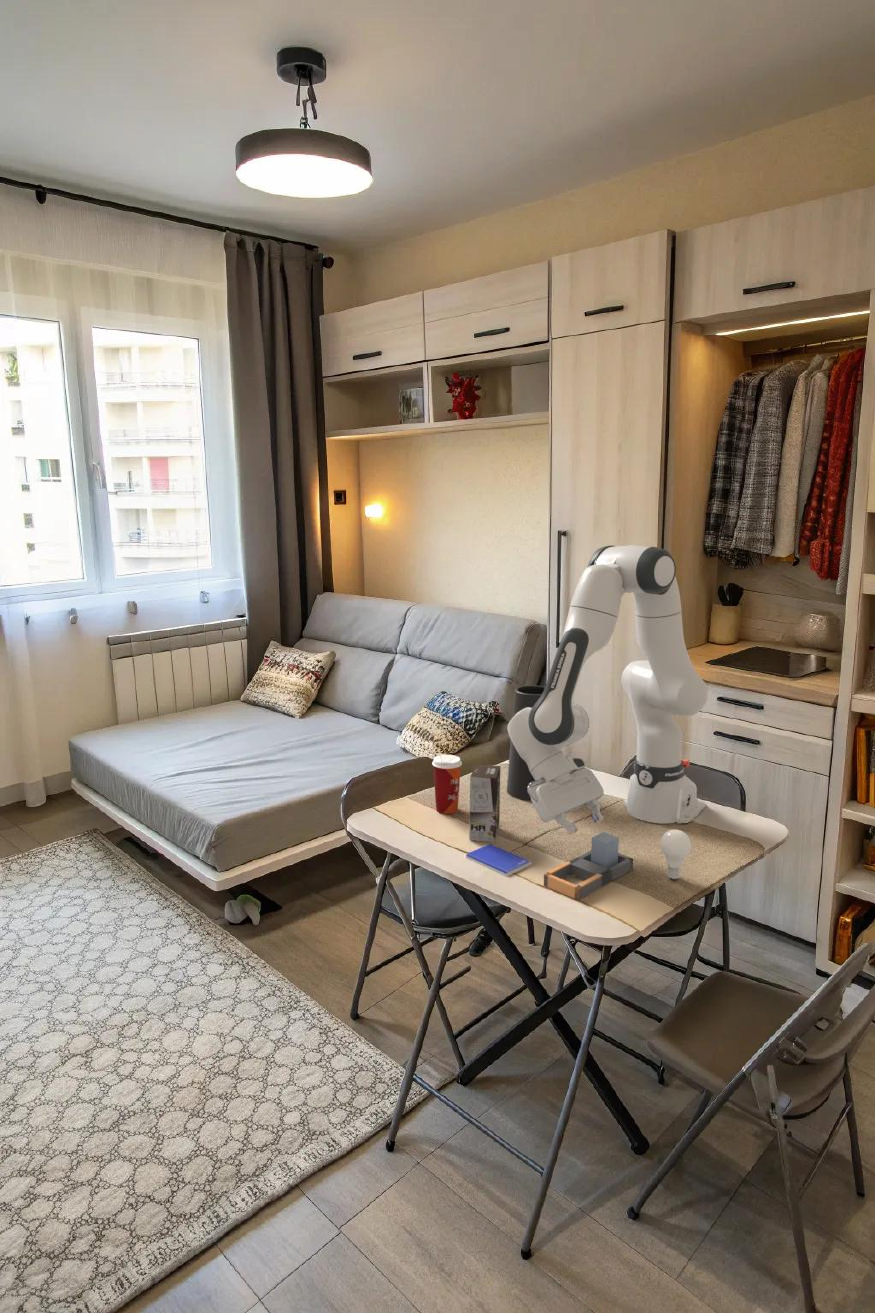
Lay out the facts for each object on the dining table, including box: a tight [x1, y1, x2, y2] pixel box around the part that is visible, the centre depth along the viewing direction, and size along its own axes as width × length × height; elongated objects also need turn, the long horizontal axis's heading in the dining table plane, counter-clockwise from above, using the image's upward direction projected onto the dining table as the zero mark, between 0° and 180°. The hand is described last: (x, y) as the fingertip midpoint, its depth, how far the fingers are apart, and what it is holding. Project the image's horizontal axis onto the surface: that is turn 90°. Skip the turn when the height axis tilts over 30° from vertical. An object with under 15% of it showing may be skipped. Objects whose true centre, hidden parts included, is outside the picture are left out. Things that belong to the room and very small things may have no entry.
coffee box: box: [468, 764, 501, 843], centre depth 200 cm, size 9×6×16 cm
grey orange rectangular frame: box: [543, 850, 634, 901], centre depth 179 cm, size 20×9×3 cm, turn 134°
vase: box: [506, 684, 546, 802], centre depth 226 cm, size 14×14×29 cm
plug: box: [590, 831, 620, 869], centre depth 183 cm, size 4×4×8 cm
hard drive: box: [465, 843, 532, 877], centre depth 187 cm, size 2×8×12 cm
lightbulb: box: [659, 829, 692, 880], centre depth 178 cm, size 6×6×11 cm
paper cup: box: [431, 754, 463, 815], centre depth 215 cm, size 8×8×14 cm
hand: (587, 826), depth 185 cm, fingers open, 8 cm apart
